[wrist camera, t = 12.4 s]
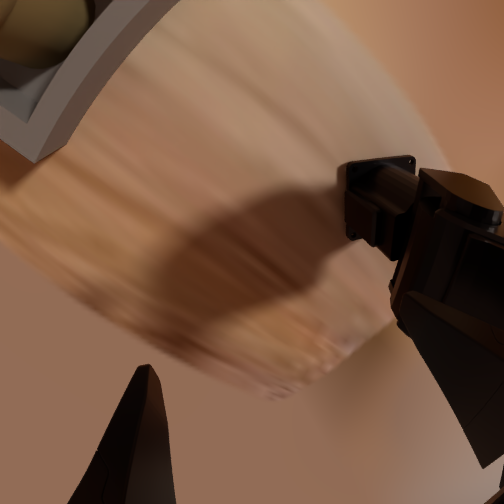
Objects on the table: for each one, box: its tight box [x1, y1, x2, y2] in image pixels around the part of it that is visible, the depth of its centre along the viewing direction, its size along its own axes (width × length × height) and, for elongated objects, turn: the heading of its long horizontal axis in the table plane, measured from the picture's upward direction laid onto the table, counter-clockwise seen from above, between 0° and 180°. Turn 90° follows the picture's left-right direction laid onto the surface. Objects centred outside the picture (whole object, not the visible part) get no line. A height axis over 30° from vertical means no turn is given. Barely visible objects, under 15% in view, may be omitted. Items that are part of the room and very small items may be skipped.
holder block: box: [0, 0, 180, 164], centre depth 10 cm, size 12×12×5 cm
